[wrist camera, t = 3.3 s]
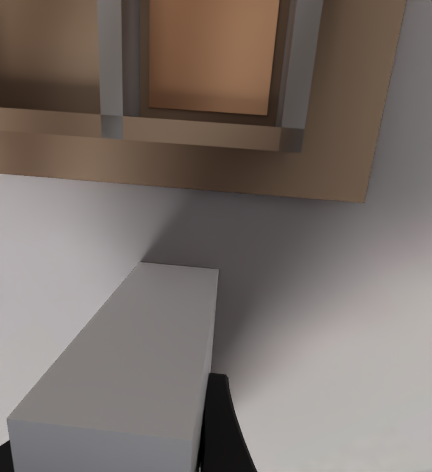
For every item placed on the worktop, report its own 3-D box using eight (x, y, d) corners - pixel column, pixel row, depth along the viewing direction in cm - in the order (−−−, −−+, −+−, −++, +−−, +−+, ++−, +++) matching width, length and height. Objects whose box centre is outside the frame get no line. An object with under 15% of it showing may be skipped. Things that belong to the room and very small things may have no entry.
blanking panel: (139, 427, 14) (48, 689, 7) (139, 262, 12) (6, 419, 5) (205, 435, 14) (175, 709, 7) (218, 269, 12) (192, 440, 5)
